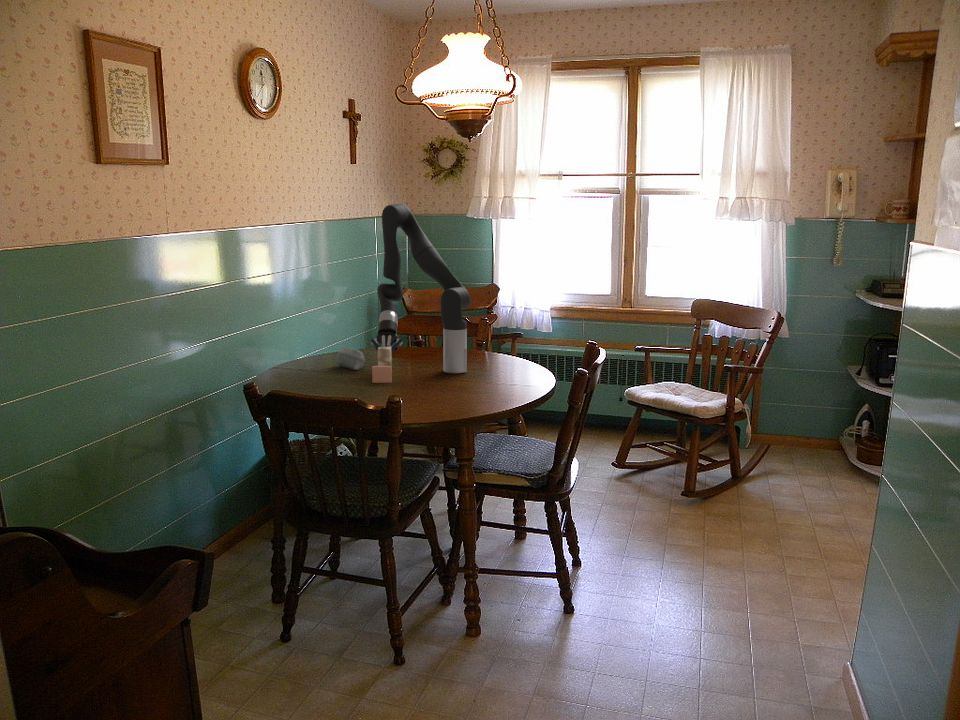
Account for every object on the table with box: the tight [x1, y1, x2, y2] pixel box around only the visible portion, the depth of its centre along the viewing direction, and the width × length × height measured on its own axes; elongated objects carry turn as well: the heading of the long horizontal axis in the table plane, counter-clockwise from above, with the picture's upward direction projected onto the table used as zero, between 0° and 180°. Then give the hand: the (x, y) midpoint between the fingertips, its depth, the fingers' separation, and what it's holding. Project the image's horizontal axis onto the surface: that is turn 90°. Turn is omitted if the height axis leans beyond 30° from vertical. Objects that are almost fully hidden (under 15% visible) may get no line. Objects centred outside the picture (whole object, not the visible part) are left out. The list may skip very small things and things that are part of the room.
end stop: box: [371, 365, 393, 384], centre depth 286 cm, size 7×2×6 cm, turn 91°
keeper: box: [377, 346, 393, 366], centre depth 297 cm, size 5×4×10 cm
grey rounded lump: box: [335, 347, 365, 371], centre depth 309 cm, size 14×10×10 cm
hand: (385, 360), depth 299 cm, fingers closed
